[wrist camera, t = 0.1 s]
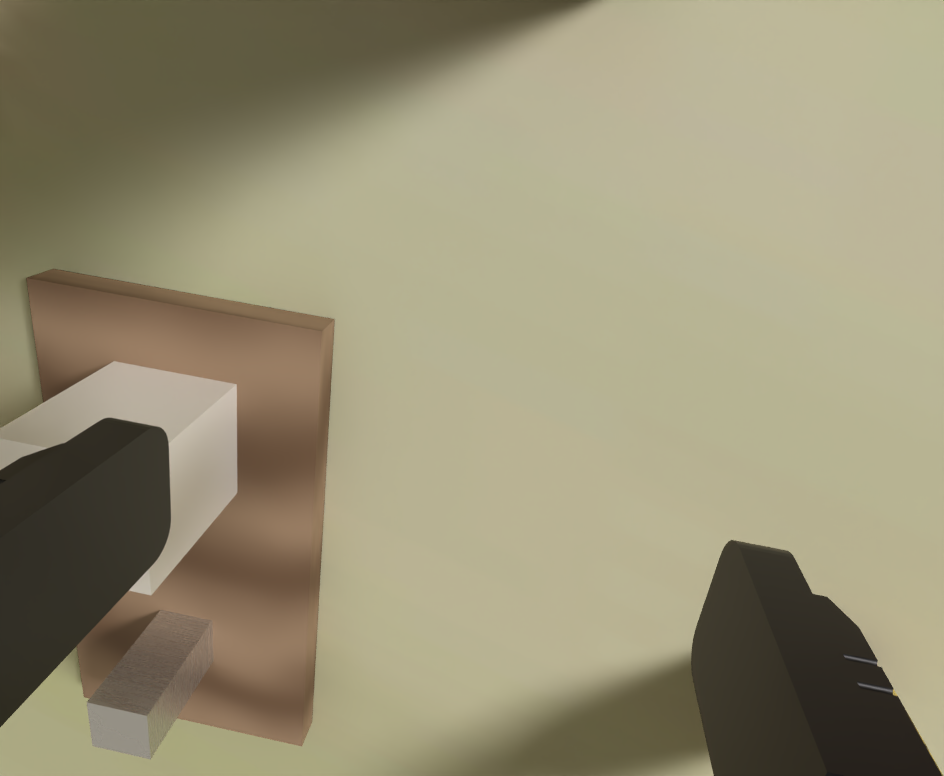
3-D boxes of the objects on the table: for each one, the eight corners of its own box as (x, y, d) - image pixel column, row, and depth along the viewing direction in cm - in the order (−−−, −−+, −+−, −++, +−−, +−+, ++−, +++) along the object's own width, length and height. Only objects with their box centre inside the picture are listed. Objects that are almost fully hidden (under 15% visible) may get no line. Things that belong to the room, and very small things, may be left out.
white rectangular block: (113, 361, 28) (-13, 436, 22) (236, 384, 27) (141, 466, 21) (123, 470, 30) (10, 565, 24) (237, 493, 30) (151, 595, 24)
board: (52, 268, 28) (26, 278, 27) (334, 319, 27) (321, 331, 26) (101, 675, 38) (84, 697, 36) (311, 722, 37) (301, 746, 35)
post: (160, 609, 33) (86, 702, 28) (212, 620, 33) (146, 716, 28) (163, 649, 34) (92, 745, 29) (213, 660, 34) (150, 759, 29)
